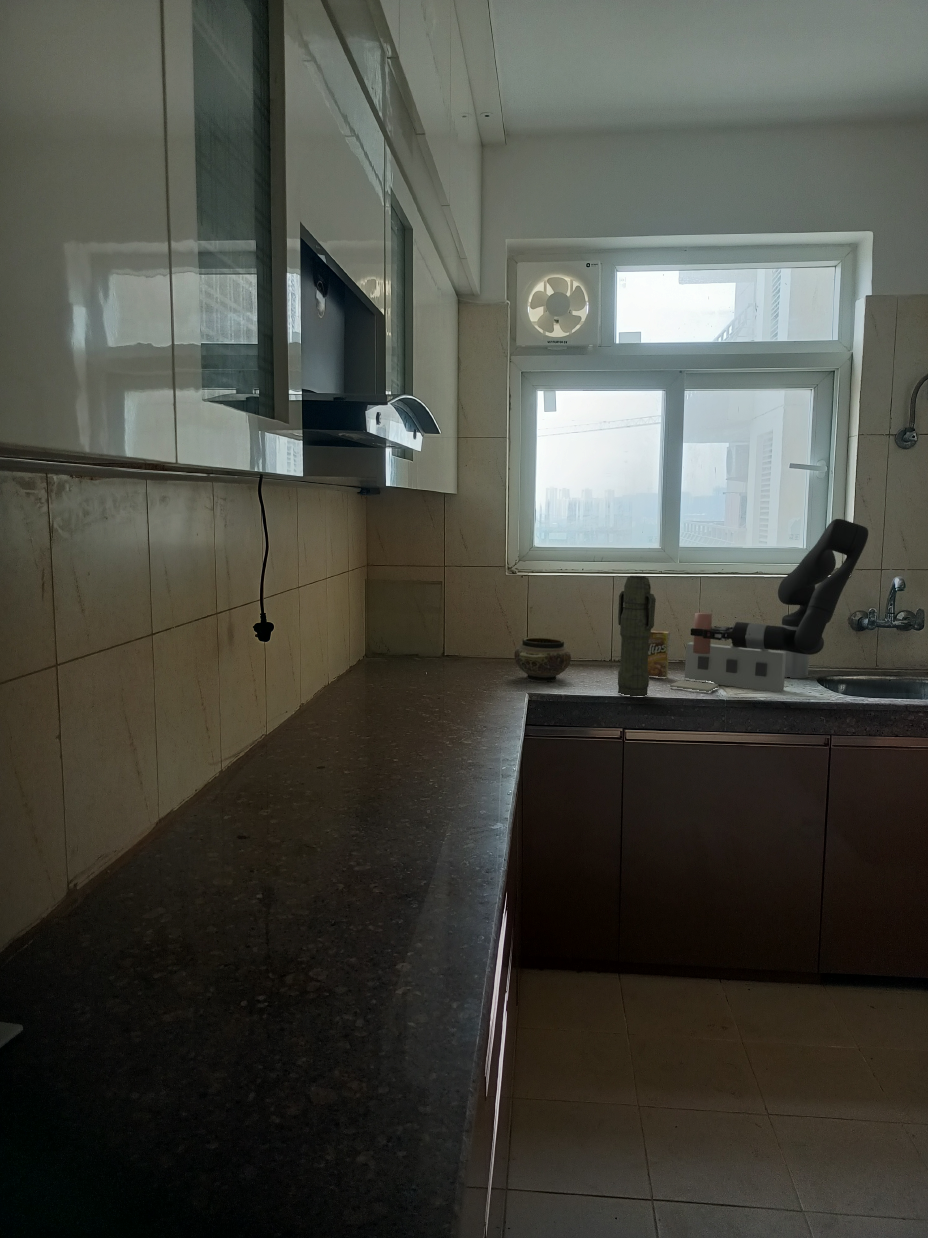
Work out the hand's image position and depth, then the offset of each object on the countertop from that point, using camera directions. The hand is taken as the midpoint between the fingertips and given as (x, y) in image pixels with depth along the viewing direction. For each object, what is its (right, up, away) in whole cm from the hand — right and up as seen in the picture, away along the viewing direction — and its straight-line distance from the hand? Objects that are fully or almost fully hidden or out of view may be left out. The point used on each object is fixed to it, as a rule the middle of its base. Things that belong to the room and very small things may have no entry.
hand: (694, 630), depth 264 cm
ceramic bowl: (-46, -16, +11) cm, 50 cm away
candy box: (-8, -16, +19) cm, 26 cm away
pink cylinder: (+2, -7, -1) cm, 7 cm away
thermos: (-20, -19, -8) cm, 29 cm away
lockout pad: (+1, -18, +2) cm, 18 cm away
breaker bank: (+15, -17, +9) cm, 24 cm away
